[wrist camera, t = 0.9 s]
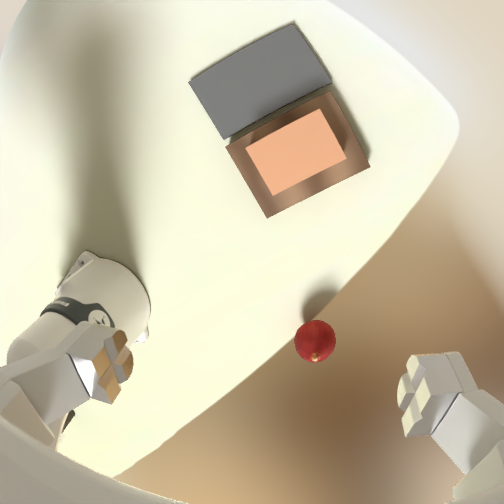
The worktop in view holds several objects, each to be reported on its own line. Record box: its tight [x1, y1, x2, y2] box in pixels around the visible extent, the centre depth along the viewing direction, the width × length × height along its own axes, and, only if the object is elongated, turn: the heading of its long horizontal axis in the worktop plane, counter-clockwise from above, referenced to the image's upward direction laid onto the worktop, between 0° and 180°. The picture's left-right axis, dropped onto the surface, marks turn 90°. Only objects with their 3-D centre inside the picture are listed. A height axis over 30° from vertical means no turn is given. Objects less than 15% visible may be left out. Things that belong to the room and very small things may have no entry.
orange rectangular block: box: [245, 109, 347, 196], centre depth 32 cm, size 9×6×3 cm, turn 120°
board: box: [226, 91, 370, 218], centre depth 34 cm, size 14×10×2 cm
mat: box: [188, 24, 332, 140], centre depth 32 cm, size 15×9×1 cm, turn 120°
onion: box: [294, 320, 336, 363], centre depth 40 cm, size 6×6×8 cm
